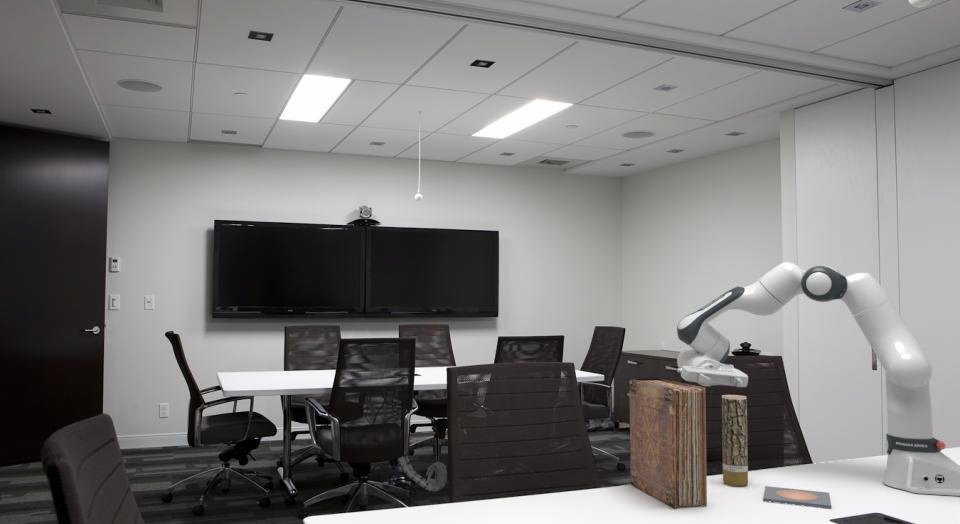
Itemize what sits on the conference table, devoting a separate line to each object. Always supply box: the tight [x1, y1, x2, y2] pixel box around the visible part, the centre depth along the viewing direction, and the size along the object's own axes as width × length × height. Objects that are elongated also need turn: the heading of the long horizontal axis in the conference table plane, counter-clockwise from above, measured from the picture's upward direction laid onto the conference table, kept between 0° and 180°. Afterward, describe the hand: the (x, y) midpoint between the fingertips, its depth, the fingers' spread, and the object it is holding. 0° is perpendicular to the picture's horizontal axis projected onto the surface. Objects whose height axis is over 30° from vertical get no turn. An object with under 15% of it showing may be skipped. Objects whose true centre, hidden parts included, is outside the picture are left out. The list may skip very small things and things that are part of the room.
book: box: [628, 377, 708, 510], centre depth 189 cm, size 25×9×30 cm, turn 13°
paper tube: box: [721, 394, 749, 487], centre depth 202 cm, size 7×7×25 cm
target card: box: [762, 485, 832, 510], centre depth 186 cm, size 16×14×1 cm
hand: (725, 383), depth 210 cm, fingers open, 8 cm apart
